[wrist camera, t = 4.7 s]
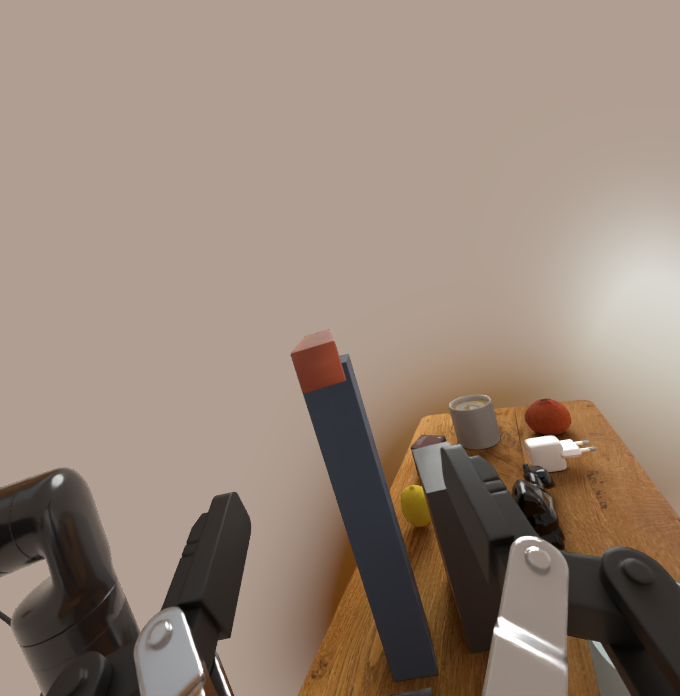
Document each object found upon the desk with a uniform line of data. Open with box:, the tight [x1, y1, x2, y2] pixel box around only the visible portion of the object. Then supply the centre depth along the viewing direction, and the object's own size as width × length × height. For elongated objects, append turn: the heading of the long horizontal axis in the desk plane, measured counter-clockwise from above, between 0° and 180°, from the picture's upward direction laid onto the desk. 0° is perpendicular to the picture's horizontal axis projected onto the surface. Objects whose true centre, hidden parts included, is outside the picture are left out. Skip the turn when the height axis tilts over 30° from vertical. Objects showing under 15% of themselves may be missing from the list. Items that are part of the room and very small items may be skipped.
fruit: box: [525, 399, 571, 435], centre depth 73 cm, size 9×9×8 cm
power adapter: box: [524, 435, 597, 472], centre depth 61 cm, size 11×5×6 cm, turn 76°
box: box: [411, 435, 446, 476], centre depth 71 cm, size 6×6×7 cm
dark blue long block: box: [303, 354, 438, 682], centre depth 35 cm, size 5×5×36 cm
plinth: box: [412, 441, 502, 653], centre depth 39 cm, size 5×10×20 cm, turn 176°
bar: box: [291, 329, 346, 393], centre depth 31 cm, size 3×18×3 cm, turn 3°
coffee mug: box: [449, 395, 500, 449], centre depth 80 cm, size 13×10×10 cm
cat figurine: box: [511, 464, 565, 551], centre depth 53 cm, size 10×14×18 cm
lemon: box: [401, 485, 431, 527], centre depth 56 cm, size 6×6×8 cm
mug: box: [588, 582, 680, 696], centre depth 26 cm, size 14×9×10 cm
